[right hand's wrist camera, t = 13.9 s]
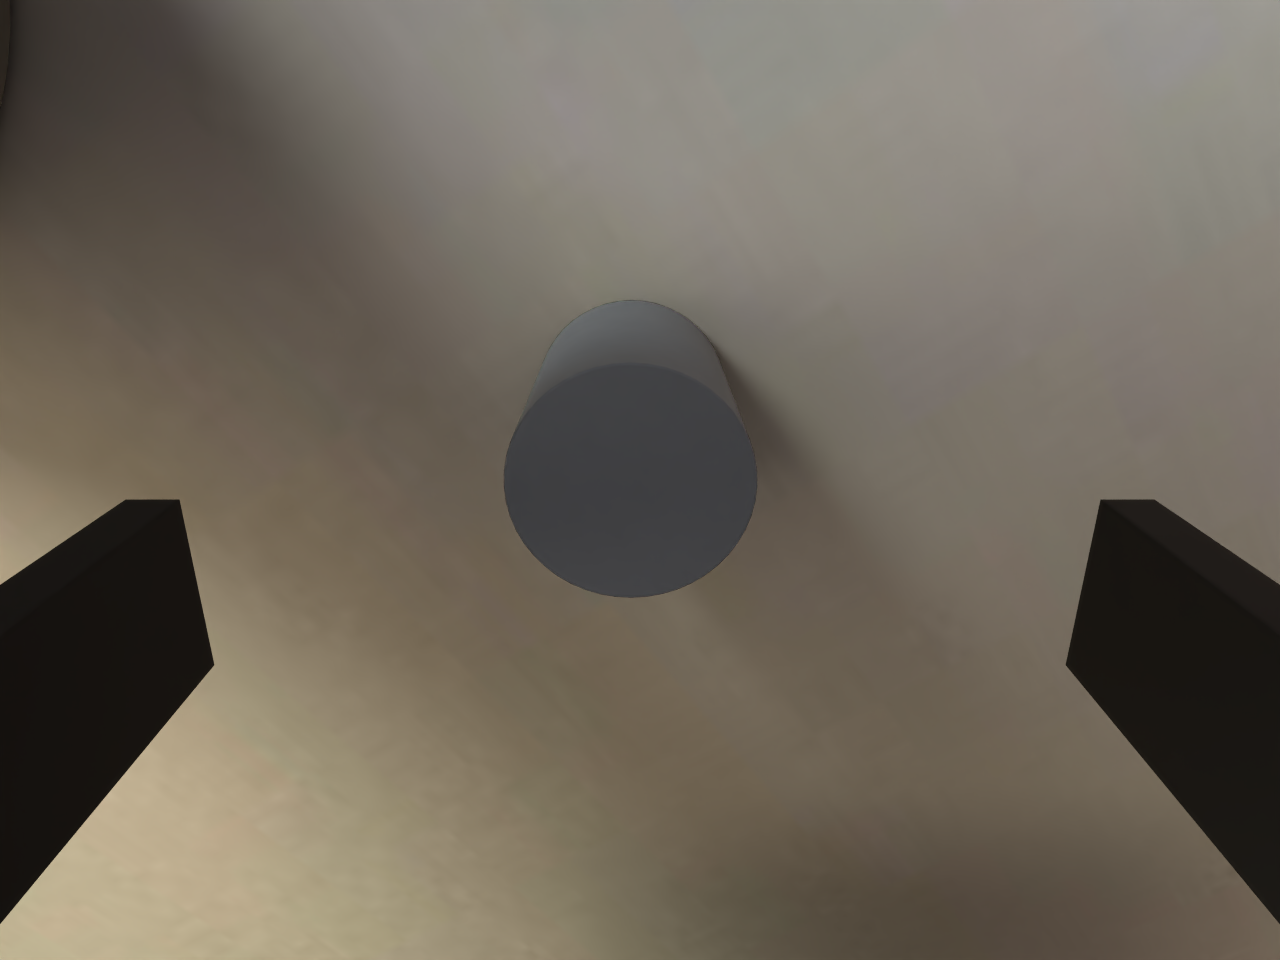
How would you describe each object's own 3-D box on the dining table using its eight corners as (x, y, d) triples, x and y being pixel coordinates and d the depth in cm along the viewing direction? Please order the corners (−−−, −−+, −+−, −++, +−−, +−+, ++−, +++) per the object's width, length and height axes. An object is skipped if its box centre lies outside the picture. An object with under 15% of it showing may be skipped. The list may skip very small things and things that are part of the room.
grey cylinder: (542, 480, 21) (510, 598, 16) (534, 299, 20) (495, 363, 14) (721, 479, 22) (751, 598, 16) (728, 299, 20) (764, 362, 14)
